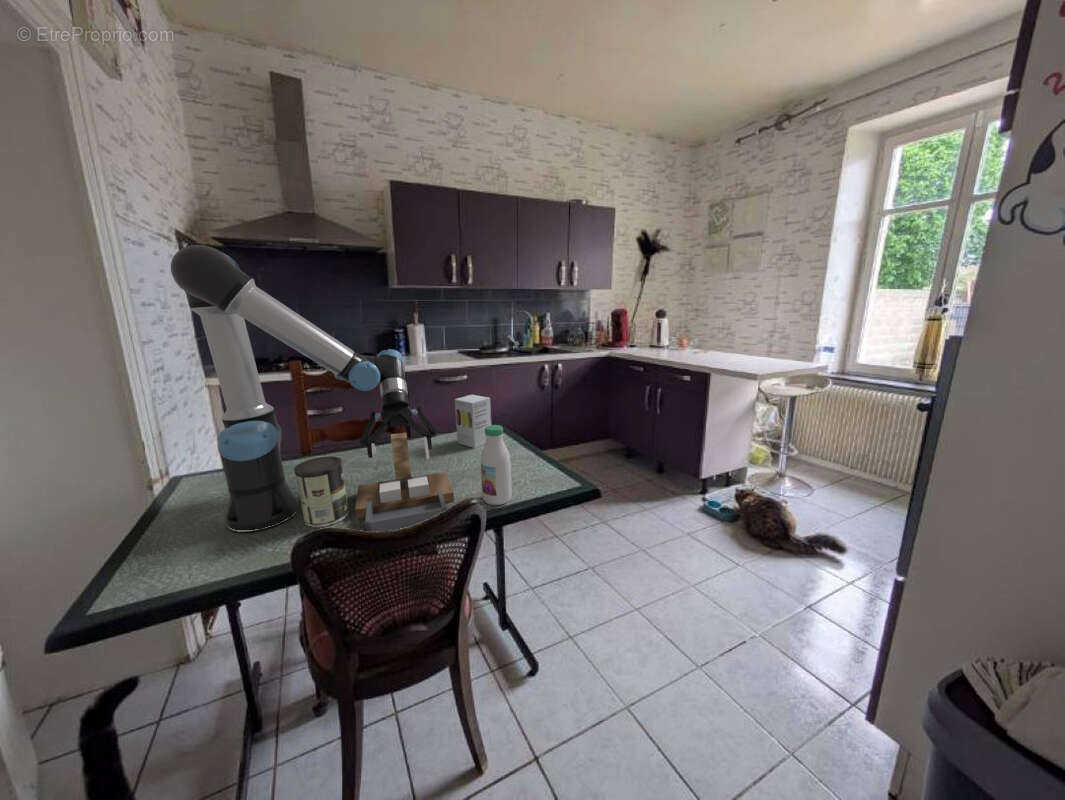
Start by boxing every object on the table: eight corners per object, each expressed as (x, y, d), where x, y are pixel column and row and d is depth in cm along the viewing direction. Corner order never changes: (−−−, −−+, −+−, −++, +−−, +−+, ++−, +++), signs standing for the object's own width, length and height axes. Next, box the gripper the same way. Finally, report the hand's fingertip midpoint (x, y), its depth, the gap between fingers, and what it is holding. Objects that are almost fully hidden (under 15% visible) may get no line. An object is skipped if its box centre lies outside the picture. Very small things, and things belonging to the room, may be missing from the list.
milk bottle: (506, 489, 114) (503, 421, 109) (515, 502, 107) (513, 429, 102) (479, 495, 111) (475, 425, 106) (487, 508, 104) (482, 434, 99)
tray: (367, 539, 92) (365, 523, 91) (369, 516, 102) (367, 501, 101) (448, 523, 98) (446, 508, 97) (442, 503, 107) (441, 489, 106)
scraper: (379, 493, 108) (372, 443, 105) (379, 484, 113) (373, 436, 110) (429, 484, 112) (424, 436, 109) (427, 476, 117) (423, 430, 114)
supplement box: (456, 443, 150) (453, 399, 146) (474, 436, 158) (471, 393, 153) (475, 448, 145) (472, 402, 141) (493, 441, 152) (490, 397, 148)
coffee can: (341, 502, 109) (333, 452, 106) (355, 516, 102) (347, 463, 99) (298, 516, 103) (288, 464, 99) (310, 533, 95) (300, 477, 92)
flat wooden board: (356, 518, 101) (354, 509, 100) (359, 493, 114) (358, 485, 113) (454, 501, 108) (453, 492, 108) (446, 479, 121) (446, 471, 121)
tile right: (409, 498, 105) (408, 487, 104) (408, 489, 110) (407, 479, 109) (429, 494, 107) (428, 484, 106) (427, 486, 111) (426, 476, 111)
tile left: (380, 503, 103) (379, 492, 102) (381, 494, 108) (379, 484, 107) (401, 499, 105) (400, 488, 104) (401, 491, 109) (399, 480, 108)
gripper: (437, 399, 127) (448, 462, 117) (350, 408, 119) (353, 476, 109) (438, 385, 121) (449, 451, 111) (346, 394, 113) (349, 465, 103)
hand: (402, 464), depth 110 cm, fingers open, 13 cm apart
